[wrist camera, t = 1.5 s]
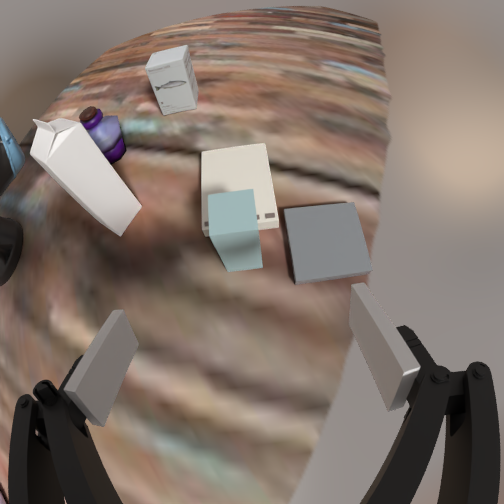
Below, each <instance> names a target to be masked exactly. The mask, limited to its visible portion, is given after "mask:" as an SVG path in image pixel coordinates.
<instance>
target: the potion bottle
mask: <svg viewBox="0 0 504 504" xmlns="http://www.w3.org/2000/svg"><path fill="white" fill-rule="evenodd" d="M79 119H80V123H81V124H82V125H83V127H84V128H85V129H86V131H87V132H88V134H89V135H90V137H91V138H92V140H93V141H94V142H95V144H96V145H97V147H98V148H99V149H100V151H101V152H102V154H103V155H104V156H105V158H106V159H107V160H108V162H109V163H110V165H111V164H113V163H115V162H117V161H118V160H120V159H121V158H122V157H123V155H124V154H125V152H126V146H125V144H124V143H123V140H122V133H121V127H120V124H119V121H118V117H117V116H104V117H103V113H102V112H101V110H100V109H96V108H95V107H92V106H90V107H88V108H87V109H85V110H84V111H83V112H82V113H81V114H80V116H79Z"/></svg>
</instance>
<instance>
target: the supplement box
mask: <svg viewBox="0 0 504 504" xmlns="http://www.w3.org/2000/svg"><path fill="white" fill-rule="evenodd" d="M145 69H146V72H147V75H148V77H149V80H150V83H151V85H152V88H153V90H154V93H155V96H156V98H157V101H158V103H159V106H160V108H161V111H162V113H163V115H167V114H172V113H176V112H181V111H186V110H192V109H197V100H198V87H197V82H196V78H195V74H194V70H193V66H192V62H191V58H190V54H189V50H188V45H185V46H180V47H176V48H172V49H167V50H163V51H160V52H156V53H152V55H151V57H150V59H149V61H148V63H147V65H146V68H145Z"/></svg>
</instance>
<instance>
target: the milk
mask: <svg viewBox="0 0 504 504" xmlns="http://www.w3.org/2000/svg"><path fill="white" fill-rule="evenodd" d="M33 121H34V122H35V124H36V125H37V126H38V128H37V131H36V134H35V138H34V141H33V144H32V148H31V151H30V155H31V156H32V157H33V158H34V159H35V160H36V161H37V162H38V163H39V164H40V165H41V166H42V167H43V168H44V169H45V170H46V172H47V173H48V174H49V175H50V176H51V177H52V178H53V179H54V180H55V181H56V182H57V183H58V184H59V185H60V186H61V187H62V188H63V189H64V190H65V191H66V192H67V193H69V194H70V195H71V196H72V197H73V198H74V199H75V200H76V201H77V202H78V203H79V204H80V205H81V206H82V207H83V208H84V209H85V210H86V211H88V212H89V213H90V214H91V215H92V216H93V217H94V218H95V219H96V220H97V221H98V222H100V223H101V224H103V225H104V226H105V227H107V228H108V229H110V230H111V231H113V232H114V233H116V234H117V235H119V236H120V237H121V236H122V234H123V233H124V231H125V230H126V228H127V227H128V225H129V224H130V223H131V221H132V220H133V218H134V217H135V216H136V214H137V213H138V212H139V210H140V209H141V207H142V205H141V204H140V203H139V201H138V200H137V199H136V198H135V196H134V195H133V194H132V192H131V191H130V190H129V188H128V187H127V186H126V185H125V183H124V182H123V181H122V179H121V178H120V177H119V175H118V174H117V173H116V171H115V170H114V169H113V167H112V166H111V165H110V163H109V162H108V160H107V159H106V158H105V156H104V155H103V154H102V152H101V151H100V149H99V148H98V147H97V145H96V144H95V142H94V141H93V140H92V138H91V137H90V135H89V134H88V132H87V131H86V129H85V128H84V127H83V125H82V124H81V123H79V122H75V121H71V120H67V119H63V118H59V119H56V120H53V121H51V122H48V123H46V122H43V121H39V120H36V119H33Z"/></svg>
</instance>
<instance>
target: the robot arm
mask: <svg viewBox="0 0 504 504" xmlns="http://www.w3.org/2000/svg"><path fill="white" fill-rule="evenodd" d="M24 163H25V155H24V153H23V151H22V150H21V148H20V146H19V144H18V143H17V141H16V139H15V138H14V136H13V135H12V133H11V131H10V130H9V128H8V126H7V125H6V123H5V122H4V120H3V119H2V118H1V117H0V196H1V195H2V193H3V192H4V191H5V190H6V188H7V187H8V186H9V184H10V183H11V182H12V181H13V180H14V179H15V178H16V175H17V174H18V172H19V171H20V170H21V168H22V167H23V166H24ZM22 241H23V232H22V228H21V226H20V224H19V223H17V222H16V221H15V220H13V219H11V218H4V217H1V216H0V286H2V285H3V284H5V283H6V282H7V281H8V279H9V278H10V277H11V275H12V273H13V271H14V269H15V267H16V265H17V262H18V260H19V256H20V253H21V248H22ZM349 326H350V328H351V330H352V332H353V334H354V336H355V338H356V340H357V342H358V345H359V347H360V349H361V351H362V353H363V355H364V358H365V360H366V362H367V364H368V366H369V368H370V371H371V373H372V375H373V378H374V380H375V382H376V384H377V387H378V389H379V391H380V394H381V396H382V398H383V401H384V403H385V405H386V408H387V410H388V412H389V411H392V410H395V409H398V408H401V407H403V406H404V404H405V402H406V400H407V401H408V403H409V405H410V407H409V409H408V411H407V412H406V414H405V416H404V421H403V423H402V426H401V428H400V430H399V433H398V435H397V437H396V439H395V441H394V444H393V446H392V448H391V450H390V452H389V454H388V456H387V458H386V460H385V462H384V463H383V465H382V467H381V469H380V471H379V473H378V474H377V476H376V478H375V480H374V482H373V483H372V485H371V486H370V488H369V490H368V492H367V493H366V495H365V496H364V498H363V499H362V501H361V503H360V504H410V503H411V501H412V499H413V497H414V495H415V493H416V491H417V489H418V486H419V484H420V482H421V480H422V477H423V475H424V473H425V471H426V468H427V465H428V463H429V461H430V458H431V455H432V453H433V450H434V447H435V444H436V441H437V438H438V435H439V432H440V428H441V425H442V422H443V418H444V415H446V438H445V439H446V440H445V453H444V464H443V472H442V479H441V486H440V492H439V498H438V502H437V504H497V503H498V494H499V483H500V482H499V481H500V433H499V421H498V411H497V404H496V397H495V391H494V386H493V380H492V375H491V371H490V369H489V367H488V366H487V365H486V364H484V363H482V362H473V363H471V364H470V365H469V367H468V368H467V370H466V371H459V372H450V371H449V370H448V369H447V368H446V367H443V366H438V365H436V363H435V362H434V360H433V359H432V357H431V356H430V354H429V353H428V351H427V350H426V348H425V347H424V346H423V345H422V343H421V341H420V340H419V339H418V337H417V336H416V334H415V333H414V331H413V330H411V329H409V328H408V327H407V326H405V325H404V326H400V327H395V326H394V324H393V323H392V321H391V320H390V318H389V317H388V316H387V314H386V313H385V311H384V310H383V308H382V307H381V305H380V304H379V303H378V301H377V300H376V298H375V297H374V295H373V294H372V293H371V291H370V290H369V289H368V287H367V286H366V284H365V283H358V284H352V285H351V301H350V314H349ZM138 345H139V343H138V341H137V339H136V337H135V335H134V333H133V330H132V328H131V326H130V324H129V321H128V319H127V317H126V314H125V312H124V310H113V311H112V313H111V314H110V316H109V317H108V319H107V320H106V322H105V323H104V325H103V326H102V328H101V329H100V331H99V332H98V334H97V335H96V337H95V338H94V340H93V341H92V343H91V344H90V346H89V348H88V349H87V351H86V352H85V354H84V355H81V356H80V357H79V358H78V359H77V360H76V361H75V363H74V364H73V366H72V369H70V371H69V372H68V373H69V374H67V376H66V377H65V379H64V381H63V382H62V384H61V386H60V388H59V389H58V390H57V389H56V388H55V386H54V385H53V384H52V382H51V381H49V380H43V381H40V382H39V383H37V385H36V386H35V387H34V389H33V394H34V396H35V397H36V398H37V399H38V400H39V401H35V400H34V399H33V398H32V396H31V395H29V394H25V395H23V396H21V397H20V398H19V399H18V401H17V403H16V407H15V413H14V419H13V425H12V433H11V441H10V452H9V470H8V493H9V504H65V500H66V503H67V504H123V503H122V501H121V500H120V498H119V496H118V494H117V492H116V490H115V488H114V487H113V485H112V483H111V481H110V479H109V477H108V474H107V472H106V470H105V468H104V466H103V464H102V461H101V459H100V457H99V454H98V452H97V450H96V447H95V445H94V442H93V440H92V437H91V434H90V431H89V429H88V426H87V425H86V423H85V420H86V418H87V419H88V420H89V421H90V422H91V423H92V424H93V425H97V426H102V427H104V426H105V423H106V420H107V418H108V415H109V413H110V410H111V408H112V405H113V403H114V400H115V398H116V396H117V393H118V391H119V388H120V386H121V384H122V381H123V379H124V377H125V374H126V372H127V370H128V367H129V365H130V363H131V361H132V359H133V356H134V354H135V352H136V350H137V348H138ZM35 429H36V430H37V431H38V436H37V435H36V434H35ZM64 497H65V500H64Z"/></svg>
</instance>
